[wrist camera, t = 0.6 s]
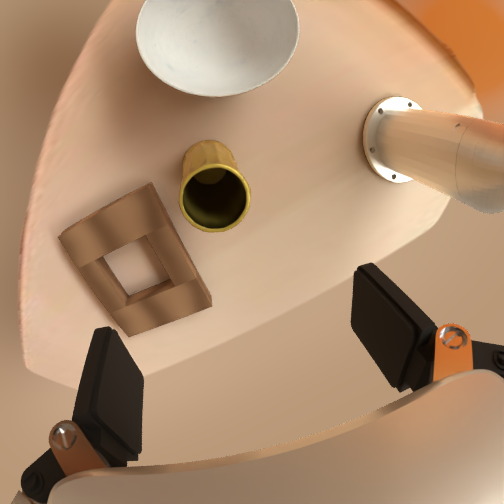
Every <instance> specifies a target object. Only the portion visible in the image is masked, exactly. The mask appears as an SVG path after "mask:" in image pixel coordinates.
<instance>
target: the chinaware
mask: <svg viewBox="0 0 504 504" xmlns="http://www.w3.org/2000/svg"><path fill="white" fill-rule="evenodd" d="M135 34H136V43H137V48H138V51H139V54H140V56H141V58H142V60H143V61H144V63H145V65H146V66H147V67H148V69H149V70H150V71H151V72H152V73H153V74H154V75H155V76H156V77H157V78H158V79H160V80H161V81H163V82H164V83H166V84H167V85H169V86H171V87H173V88H175V89H177V90H179V91H182V92H185V93H189V94H193V95H197V96H205V97H224V96H232V95H237V94H241V93H245V92H248V91H250V90H253V89H255V88H258V87H260V86H261V85H263V84H265V83H267V82H268V81H270V80H271V79H272V78H274V77H275V76H276V75H277V74H278V73H280V72H281V71H282V69H283V68H284V67H285V66H286V65H287V63H288V62H289V61H290V59H291V57H292V56H293V54H294V51H295V49H296V46H297V43H298V38H299V19H298V14H297V11H296V8H295V6H294V4H293V2H292V0H146V1H145V2H144V4H143V6H142V8H141V10H140V12H139V15H138V18H137V23H136V33H135Z"/></svg>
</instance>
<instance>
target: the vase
mask: <svg viewBox="0 0 504 504" xmlns="http://www.w3.org/2000/svg"><path fill="white" fill-rule="evenodd" d="M250 197H251V191H250V186H249V184H248V183H247V181H246V180H245V178H244V177H243V176H242V174H241V173H240V172H239V171H238V168H237V164H236V162H235V160H234V157H233V155H232V153H231V151H230V150H229V149H228V148H227V147H226V146H225V145H223V144H222V143H220V142H218V141H213V140H206V141H201V142H199V143H196V144H195V145H193V146H192V147H191V148H190V149H189V150H188V151H187V153H186V155H185V157H184V160H183V178H182V182H181V187H180V193H179V206H180V209H181V211H182V213H183V215H184V217H185V218H186V219H187V220H188V221H189V222H190V223H191V224H192V225H193V226H194V227H196V228H198V229H200V230H202V231H205V232H224V231H227V230H229V229H232V228H233V227H235V226H236V225H237V224H239V223H240V222H241V221H242V219H243V218H244V216H245V215H246V213H247V211H248V209H249V206H250Z"/></svg>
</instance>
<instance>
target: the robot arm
mask: <svg viewBox="0 0 504 504" xmlns="http://www.w3.org/2000/svg"><path fill="white" fill-rule="evenodd" d="M363 146H364V152H365V155H366V158H367V160H368V162H369V164H370V166H371V167H372V169H373V170H374V171H375V172H376V173H377V174H378V175H379V176H381V177H382V178H384V179H386V180H388V181H391V182H396V183H403V182H407V181H410V180H412V179H413V180H416V181H418V182H420V183H423V184H425V185H427V186H429V187H431V188H433V189H436V190H438V191H440V192H442V193H444V194H446V195H448V196H450V197H452V198H454V199H456V200H458V201H460V202H462V203H464V204H466V205H468V206H470V207H472V208H474V209H476V210H478V211H480V212H483V213H489V214H494V213H499V212H502V211H504V124H500V123H496V122H492V121H488V120H483V119H478V118H473V117H468V116H463V115H457V114H451V113H445V112H438V111H430V110H422V109H421V108H420V106H419V105H418V104H416V103H415V102H414V101H412V100H410V99H408V98H405V97H388V98H385V99H383V100H381V101H379V102H378V103H377V104H376V105H375V106H374V107H373V108H372V110H371V111H370V112H369V114H368V116H367V118H366V121H365V125H364V130H363ZM351 327H352V329H353V331H354V332H355V333H356V335H357V337H358V338H359V339H360V341H361V342H362V344H363V345H364V346H365V348H366V349H367V351H368V352H369V354H370V355H371V357H372V358H373V360H374V361H375V363H376V364H377V366H378V367H379V368H380V370H381V372H382V373H383V374H384V375H385V377H386V379H387V380H388V382H389V383H390V385H391V386H392V387H393V388H395V387H396V388H397V389H398V391H399V392H402V391H404V390H406V389H408V388H411V389H412V391H413V393H411V394H409V395H407V396H405V397H403V398H401V399H399V400H397V401H394V402H393V403H390V404H388V405H386V406H384V407H382V408H379V409H377V410H375V411H373V412H371V413H368V414H366V415H363V416H361V417H359V418H356V419H354V420H351V421H349V422H346V423H344V424H341V425H338V426H336V427H333V428H330V429H328V430H325V431H322V432H319V433H316V434H313V435H310V436H307V437H303V438H300V439H297V440H294V441H290V442H287V443H283V444H279V445H276V446H272V447H268V448H264V449H260V450H256V451H251V452H247V453H242V454H237V455H232V456H226V457H221V458H215V459H209V460H202V461H195V462H187V463H177V464H166V465H155V466H139V467H127V461H138V454H140V453H141V451H142V409H143V389H144V388H143V387H144V378H143V375H142V373H141V371H140V370H139V368H138V367H137V365H136V363H135V362H134V360H133V359H132V357H131V355H130V354H129V352H128V350H127V349H126V347H125V345H124V344H123V342H122V340H121V338H120V337H119V335H118V333H117V331H116V330H115V329H111V327H109V326H107V327H102V328H97V329H95V331H94V334H93V337H92V340H91V344H90V347H89V350H88V354H87V358H86V361H85V365H84V369H83V372H82V376H81V380H80V384H79V389H78V393H77V397H76V402H75V407H74V411H73V416H72V421H71V420H64V421H61V422H59V423H57V424H56V425H55V426H54V427H53V428H52V430H51V431H50V435H49V444H50V447H51V448H50V449H49V450H48V451H46V452H45V453H44V454H43V455H42V456H41V457H39V458H38V459H37V460H36V461H35V462H34V463H33V464H31V465H30V467H28V468H27V469H26V470H25V471H24V472H23V474H22V477H21V487H22V490H23V491H22V492H21V491H18V492H17V494H16V496H15V498H14V499H13V501H12V503H11V504H504V346H502V345H496V344H489V343H483V342H478V341H472V340H471V337H470V334H469V332H468V331H467V330H466V329H465V328H464V327H462V326H460V325H458V324H454V323H453V324H451V323H450V324H449V323H448V324H444V325H442V326H441V327H439V328H437V326H435V323H434V322H433V321H432V320H431V319H430V318H429V317H428V316H427V315H426V314H425V313H424V312H423V311H422V310H421V309H420V308H419V307H418V306H417V305H416V304H415V303H414V302H413V301H412V300H411V299H410V298H409V297H408V296H407V295H406V294H405V293H404V292H403V291H402V290H401V289H400V288H399V287H398V286H397V285H396V284H395V283H394V282H393V281H391V280H390V279H389V278H388V277H387V276H386V275H385V274H384V273H383V272H382V271H381V270H380V269H379V268H378V267H377V266H376V265H374V264H373V263H368V264H364V265H361V266H359V267H358V268H357V271H355V272H354V281H353V298H352V311H351Z"/></svg>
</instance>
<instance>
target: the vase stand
mask: <svg viewBox="0 0 504 504" xmlns="http://www.w3.org/2000/svg"><path fill="white" fill-rule="evenodd" d="M145 235H146V237H147V239H148V241H149V242H150V244H151V246H152V248H153V249H154V251H155V253H156V255H157V256H158V258H159V260H160V262H161V263H162V265H163V267H164V268H165V270H166V272H167V273H168V275H169V277H170V278H171V279H170V280H167V281H165V282H162V283H160V284H158V285H155V286H153V287H150V288H148V289H146V290H143V291H141V292H138V293H136V294H134V295H131V296H128V294H127V293H126V291H125V290H124V288H123V287H122V286H121V284H120V283H119V281H118V280H117V278H116V277H115V275H114V274H113V272H112V271H111V269H110V267H109V266H108V264H107V263H106V261H105V260H104V258H103V256H104V255H106V254H108V253H110V252H112V251H114V250H116V249H118V248H120V247H122V246H124V245H126V244H128V243H130V242H132V241H134V240H136V239H138V238H140V237H143V236H145ZM58 238H59V240H60V241H61V243H62V245H63V246H64V248H65V250H66V251H67V253H68V254H69V256H70V258H71V259H72V261H73V262H74V264H75V265H76V267H77V268H78V270H79V271H80V273H81V274H82V276H83V277H84V279H85V280H86V282H87V283H88V285H89V286H90V287H91V289H92V290H93V292H94V293H95V294H96V296H97V297H98V299H99V300H100V301H101V303H102V304H103V305H104V307H105V308H106V309H107V311H108V312H109V313H110V315H111V316H112V317H113V318H114V320H115V321H116V322H117V324H118V325H119V326H120V327H121V329H122V330H123V331H124V332H125V333H126V335H127V336H128V337H131V336H134V335H137V334H139V333H142V332H145V331H148V330H151V329H153V328H156V327H159V326H162V325H164V324H167V323H170V322H172V321H175V320H178V319H180V318H183V317H186V316H188V315H191V314H194V313H196V312H199V311H201V310H204V309H207V308H209V307H212V299H211V295H210V293H209V291H208V289H207V287H206V286H205V284H204V282H203V280H202V278H201V277H200V275H199V273H198V271H197V269H196V267H195V266H194V264H193V262H192V260H191V258H190V256H189V254H188V253H187V251H186V249H185V247H184V245H183V243H182V241H181V239H180V237H179V236H178V234H177V232H176V230H175V228H174V226H173V224H172V222H171V220H170V218H169V216H168V214H167V212H166V210H165V208H164V206H163V204H162V202H161V200H160V198H159V196H158V194H157V192H156V190H155V188H154V186H153V184H152V182H151V183H149V184H147V185H145V186H143V187H141V188H139V189H137V190H135V191H133V192H131V193H129V194H127V195H125V196H124V197H122V198H120V199H118V200H116V201H114V202H112V203H110V204H109V205H107V206H105V207H103V208H101V209H100V210H98V211H96V212H94V213H93V214H91V215H89V216H87V217H86V218H84V219H82V220H80V221H79V222H77V223H75V224H74V225H72V226H70V227H69V228H67V229H65V230H64V231H63V233H62V234H61V235H60V236H59V237H58Z"/></svg>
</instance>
